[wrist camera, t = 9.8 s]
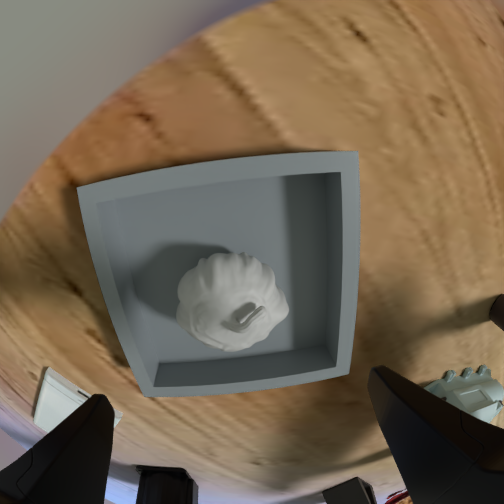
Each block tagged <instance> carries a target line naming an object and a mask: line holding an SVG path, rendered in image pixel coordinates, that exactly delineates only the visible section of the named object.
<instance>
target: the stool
mask: <svg viewBox="0 0 504 504" xmlns="http://www.w3.org/2000/svg"><path fill="white" fill-rule="evenodd" d="M489 315H490V319H491V320H492V321H493V322H494V323H495V324H496V325H497V326H498V327H500V328H501V329H502V330H503V331H504V294H503V295H501V296H500V297H499V298H498V299H497V300H496V302H495V303H494V305H493V307H492V310H491V311H490V313H489ZM486 369H487V366H486V365H481V366H480V369H479V371H478V372H477V373H473V374H471V373H472V372H473V369H472V368H471V367H469V368H466V369H465V372H464V373H463V375H462V376H457V377H454V376H455V375H456V372H455V371H454V370H452V371H450V370H449V371H448V372H447V375H446V376H445V378H444V379H438V380H436V381H434V382H433V383H431V384H429V385H428V386H426V387H424V389H425V390H427V391H429V392H431V393H432V394H434V395H436V396H438V397H439V398H441V399H443V400H445V401H447V402H448V403H450V404H452V405H454V406H456V407H457V408H459V409H460V410H463V411H465V412H467V413H468V414H470V415H472V416H474V417H476V418H478V419H480V420H482V421H485V422H487V423H490V422H491V420H492V419H493V418H494V417H495V416H496V415H497V414H498V413H499V412H500V410H501V409H502V407H503V406H504V405H503V404H502V400H503V396H504V391H503V387H502V385H501V384H500V383H499V382H498V381H497V380H496V379H495V380H493V379H492V378H491V370H490V369H487V370H486ZM485 370H486V371H485Z"/></svg>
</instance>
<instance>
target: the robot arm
mask: <svg viewBox="0 0 504 504" xmlns="http://www.w3.org/2000/svg"><path fill="white" fill-rule="evenodd" d="M367 386H368V392H369V395H370V398H371V401H372V404H373V407H374V410H375V413H376V417H377V420H378V423H379V426H380V428H381V430H382V433H383V435H384V437H385V439H386V442H387V444H388V446H389V448H390V451H391V453H392V455H393V457H394V460H395V462H396V464H397V467H398V469H399V471H400V474H401V476H402V478H403V481H404V483H405V486H406V488H407V490H408V493H409V495H410V498H411V500H412V503H413V504H504V429H502V428H500V427H497V426H494V425H492V424H489V423H487V422H485V421H482V420H480V419H478V418H476V417H474V416H472V415H470V414H468V413H467V412H465V411H463V410H460V409H459V408H457V407H456V406H454V405H452V404H450V403H448V402H447V401H445V400H443V399H441V398H439V397H438V396H436V395H434V394H432V393H431V392H429V391H427V390H425V389H424V388H422V387H420V386H419V385H417V384H415V383H413V382H412V381H410V380H408V379H406V378H405V377H403V376H401V375H400V374H398V373H396V372H395V371H393V370H391V369H389V368H388V367H386V366H384V365H379V366H376V367H373V368H372V369H371V371H370V375H369V380H368V385H367ZM114 420H115V411H114V409H113V407H112V405H111V404H110V402H109V400H108V399H107V397H106V396H105V395H103V394H93V395H92V396H91V397H90V398H89V399H87V400H86V401H85V402H84V403H83V404H82V405H80V406H79V407H78V408H77V409H76V410H75V411H73V412H72V413H71V414H70V415H69V416H68V417H67V418H65V419H64V420H63V421H62V422H61V423H60V424H58V425H57V426H56V427H55V428H54V429H53V430H51V431H50V432H49V433H48V434H47V435H46V436H44V437H43V438H42V439H41V440H40V441H39V442H37V443H36V444H35V445H34V446H33V447H32V448H30V449H29V450H28V451H27V452H26V453H25V454H23V455H22V456H21V457H20V458H18V459H17V460H16V461H15V462H13V463H12V464H10V465H9V466H7V467H6V468H4V469H3V470H1V471H0V504H104V498H105V490H106V483H107V477H108V471H109V465H110V459H111V453H112V445H113V431H114ZM136 471H137V472H138V473H139V474H140V481H139V487H138V493H137V499H136V504H198V485H197V484H196V483H195V481H194V480H193V479H192V478H191V477H190V475H189V474H188V472H187V471H186V470H184V469H168V468H153V467H141V466H136Z"/></svg>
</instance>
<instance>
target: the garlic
mask: <svg viewBox="0 0 504 504" xmlns="http://www.w3.org/2000/svg"><path fill="white" fill-rule="evenodd" d="M178 298H179V300H180V303H179V305H178V308H177V312H176V319H177V323H178V324H179V326H180V327H181V328H182V329H184V330H185V331H186V332H187V333H188V334H189V335H190V336H192V337H193V338H195V339H196V340H198V341H200V342H202V343H203V344H204V345H205V346H207V347H210V348H216V349H220V350H222V351H226V352H235V351H239V350H242V349H245V348H249V347H251V346H252V345H253V344H254V343H256V342H259V341H262V340H264V339H265V338H266V337H267V336H268V335H269V332H270V331H271V330H272V329H273V328H274V327H275V326H276V325H277V324H278V323H280V322H281V321H282V320H283V319H285V318H286V316H287V315H288V312H289V307H288V304H287V302H286V298H285V295H284V293H283V291H282V290H281V289H280V288H279V287H278V286H277V285H275V275H274V272H273V270H272V268H271V267H270V266H269V265H267V264H264V263H261V262H260V261H258V260H257V259H256V258H255V257H254V256H250V255H248V254H247V253H246V252H241V253H240V254H237V253H229V254H224V253H215V254H213V255H211V256H210V257H209V258H208V259H206V258H201V259H200V260H199V262H198V265H197V266H196V267H194V268H193V269H191V270H189V271H188V272H186V274H185V275H184V276H183V277H182V279H181V280H180V282H179V285H178Z"/></svg>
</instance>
